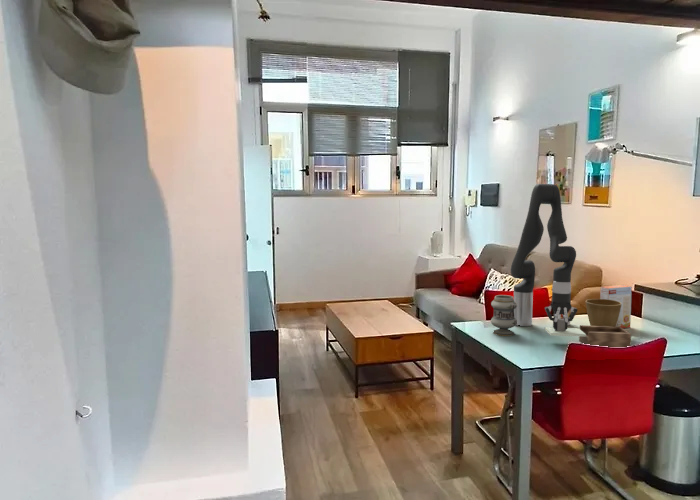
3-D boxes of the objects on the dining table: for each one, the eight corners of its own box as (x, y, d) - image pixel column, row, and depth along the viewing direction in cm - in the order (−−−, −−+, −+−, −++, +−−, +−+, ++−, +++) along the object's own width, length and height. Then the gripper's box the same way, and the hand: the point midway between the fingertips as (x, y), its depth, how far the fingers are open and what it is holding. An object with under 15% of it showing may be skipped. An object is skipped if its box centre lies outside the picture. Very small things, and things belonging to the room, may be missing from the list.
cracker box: (620, 325, 242) (622, 284, 240) (630, 327, 236) (632, 286, 235) (598, 327, 239) (600, 285, 237) (607, 330, 233) (609, 287, 231)
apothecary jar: (489, 329, 236) (489, 293, 234) (514, 330, 233) (515, 294, 232) (491, 336, 224) (492, 298, 222) (518, 337, 222) (519, 299, 220)
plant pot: (587, 329, 234) (588, 297, 233) (621, 333, 226) (623, 300, 224) (581, 336, 222) (583, 302, 220) (618, 341, 213) (619, 306, 212)
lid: (550, 335, 206) (550, 321, 205) (544, 329, 216) (545, 316, 215) (585, 336, 203) (586, 322, 203) (578, 330, 213) (579, 317, 213)
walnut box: (588, 349, 202) (588, 332, 202) (579, 340, 215) (579, 325, 214) (630, 350, 199) (631, 334, 199) (618, 342, 212) (619, 326, 211)
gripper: (546, 292, 206) (545, 331, 207) (581, 293, 203) (579, 332, 205) (542, 289, 213) (541, 327, 215) (575, 290, 211) (574, 328, 212)
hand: (560, 329), depth 210 cm, fingers closed on lid, 3 cm apart
